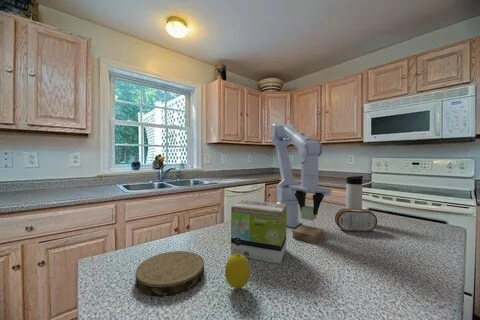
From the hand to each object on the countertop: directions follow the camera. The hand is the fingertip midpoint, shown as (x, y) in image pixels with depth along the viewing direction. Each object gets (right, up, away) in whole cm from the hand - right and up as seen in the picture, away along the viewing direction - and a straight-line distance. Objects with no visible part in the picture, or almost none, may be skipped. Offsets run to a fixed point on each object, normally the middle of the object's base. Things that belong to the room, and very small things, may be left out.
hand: (309, 213), depth 79 cm
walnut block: (0, -9, +1) cm, 9 cm away
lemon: (-25, -10, -29) cm, 40 cm away
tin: (+20, -9, +7) cm, 23 cm away
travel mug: (+25, -8, +19) cm, 33 cm away
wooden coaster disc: (-41, -10, -24) cm, 49 cm away
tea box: (-19, -9, -12) cm, 24 cm away
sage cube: (0, -2, 0) cm, 2 cm away
